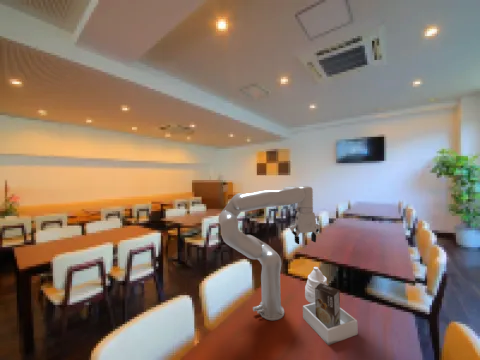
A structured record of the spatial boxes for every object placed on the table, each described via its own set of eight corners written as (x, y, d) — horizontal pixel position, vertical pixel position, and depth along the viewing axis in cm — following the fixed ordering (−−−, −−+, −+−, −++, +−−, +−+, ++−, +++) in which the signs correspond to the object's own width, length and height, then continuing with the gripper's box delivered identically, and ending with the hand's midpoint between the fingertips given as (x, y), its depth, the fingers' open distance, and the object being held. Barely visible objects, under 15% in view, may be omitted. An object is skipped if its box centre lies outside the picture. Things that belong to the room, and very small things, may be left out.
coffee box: (341, 325, 91) (340, 290, 90) (335, 333, 86) (334, 296, 86) (321, 315, 97) (320, 282, 97) (315, 322, 93) (314, 287, 92)
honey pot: (328, 308, 103) (327, 274, 103) (302, 301, 110) (301, 268, 110) (331, 295, 114) (330, 264, 114) (308, 289, 121) (307, 259, 121)
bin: (328, 345, 81) (328, 330, 81) (303, 318, 97) (302, 305, 97) (357, 334, 86) (357, 320, 86) (329, 310, 102) (328, 298, 102)
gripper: (293, 212, 99) (294, 246, 100) (324, 210, 104) (324, 243, 104) (286, 209, 107) (287, 241, 107) (315, 208, 111) (315, 238, 111)
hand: (305, 242), depth 106 cm, fingers open, 9 cm apart
